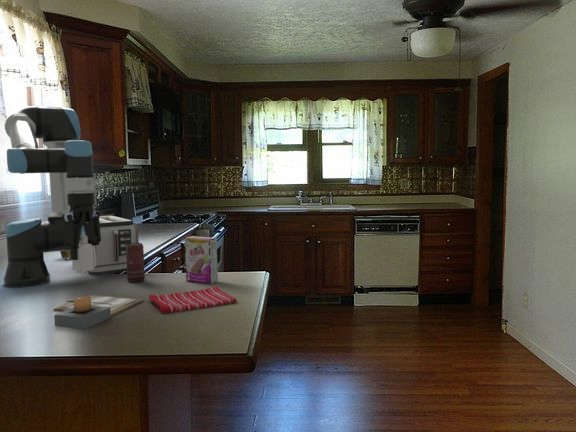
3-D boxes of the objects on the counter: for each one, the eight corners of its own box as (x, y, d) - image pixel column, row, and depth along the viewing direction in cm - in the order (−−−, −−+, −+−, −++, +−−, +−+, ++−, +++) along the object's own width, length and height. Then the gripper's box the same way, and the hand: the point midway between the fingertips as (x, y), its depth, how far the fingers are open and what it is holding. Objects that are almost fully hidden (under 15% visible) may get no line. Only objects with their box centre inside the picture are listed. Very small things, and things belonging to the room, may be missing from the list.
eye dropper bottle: (73, 271, 147) (71, 232, 146) (92, 268, 150) (90, 230, 149) (77, 273, 143) (75, 233, 142) (96, 270, 147) (94, 231, 146)
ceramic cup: (83, 258, 225) (82, 237, 224) (59, 260, 219) (58, 239, 218) (77, 254, 236) (76, 234, 235) (55, 256, 230) (54, 236, 229)
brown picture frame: (49, 310, 142) (49, 306, 142) (87, 296, 158) (87, 292, 158) (110, 316, 136) (110, 312, 136) (143, 301, 151) (143, 297, 151)
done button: (70, 310, 130) (69, 299, 129) (81, 306, 134) (81, 295, 134) (83, 312, 128) (83, 301, 128) (95, 307, 133) (94, 296, 132)
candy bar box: (185, 281, 177) (184, 237, 175) (193, 278, 182) (192, 235, 180) (210, 284, 172) (209, 239, 171) (218, 281, 177) (217, 237, 175)
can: (140, 283, 175) (138, 245, 174) (124, 282, 176) (122, 244, 175) (148, 279, 181) (146, 242, 180) (132, 278, 182) (131, 242, 181)
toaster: (93, 277, 186) (91, 225, 184) (71, 263, 213) (69, 218, 211) (142, 270, 197) (140, 221, 195) (115, 258, 225) (113, 215, 223)
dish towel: (147, 302, 152) (147, 293, 152) (218, 292, 163) (218, 284, 163) (160, 316, 137) (160, 307, 137) (237, 304, 148) (237, 296, 148)
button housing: (54, 325, 128) (54, 314, 128) (81, 314, 138) (81, 304, 137) (85, 329, 125) (84, 317, 125) (110, 317, 135) (110, 307, 134)
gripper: (68, 193, 135) (72, 275, 137) (111, 191, 152) (114, 263, 154) (46, 193, 137) (51, 273, 139) (91, 191, 155) (95, 262, 157)
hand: (84, 268), depth 147 cm, fingers closed on eye dropper bottle, 6 cm apart
